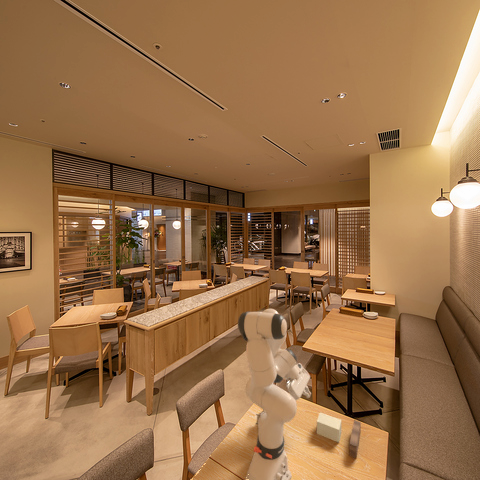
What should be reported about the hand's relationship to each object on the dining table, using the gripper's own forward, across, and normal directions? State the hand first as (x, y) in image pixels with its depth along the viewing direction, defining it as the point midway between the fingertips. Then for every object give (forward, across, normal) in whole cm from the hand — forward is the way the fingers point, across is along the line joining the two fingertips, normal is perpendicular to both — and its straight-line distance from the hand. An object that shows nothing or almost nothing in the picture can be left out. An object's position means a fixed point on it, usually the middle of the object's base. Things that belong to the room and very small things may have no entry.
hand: (309, 396), depth 133 cm
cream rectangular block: (+19, -1, +5) cm, 19 cm away
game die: (-4, -14, +27) cm, 30 cm away
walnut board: (+28, -1, -4) cm, 28 cm away
